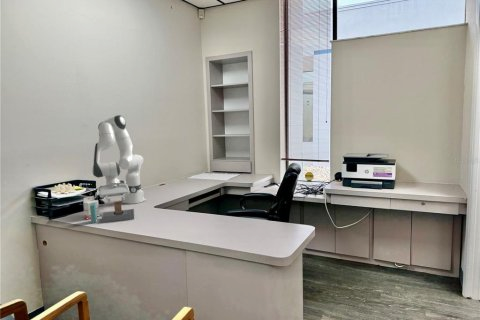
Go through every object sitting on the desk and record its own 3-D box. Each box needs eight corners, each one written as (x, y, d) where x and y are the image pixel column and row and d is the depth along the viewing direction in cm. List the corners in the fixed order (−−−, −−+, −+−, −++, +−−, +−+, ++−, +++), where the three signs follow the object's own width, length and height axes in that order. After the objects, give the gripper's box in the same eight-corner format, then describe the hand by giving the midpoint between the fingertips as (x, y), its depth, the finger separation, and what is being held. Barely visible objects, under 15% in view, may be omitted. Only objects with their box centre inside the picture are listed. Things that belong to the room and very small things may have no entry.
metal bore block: (104, 217, 227) (103, 212, 227) (134, 214, 233) (133, 209, 233) (102, 222, 216) (101, 216, 215) (134, 219, 222) (133, 213, 221)
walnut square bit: (115, 218, 225) (114, 201, 224) (121, 217, 227) (120, 200, 226) (116, 219, 222) (114, 202, 220) (122, 218, 224) (120, 201, 222)
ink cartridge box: (88, 219, 224) (87, 198, 222) (84, 218, 226) (82, 198, 225) (99, 216, 231) (98, 196, 229) (95, 215, 234) (93, 195, 232)
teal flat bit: (92, 220, 222) (91, 203, 221) (96, 220, 223) (95, 202, 221) (91, 223, 215) (89, 205, 214) (95, 222, 216) (94, 205, 215)
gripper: (97, 183, 234) (100, 199, 227) (127, 180, 244) (130, 196, 236) (97, 188, 239) (100, 204, 231) (127, 185, 248) (130, 200, 241)
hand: (116, 200), depth 234 cm, fingers open, 8 cm apart
